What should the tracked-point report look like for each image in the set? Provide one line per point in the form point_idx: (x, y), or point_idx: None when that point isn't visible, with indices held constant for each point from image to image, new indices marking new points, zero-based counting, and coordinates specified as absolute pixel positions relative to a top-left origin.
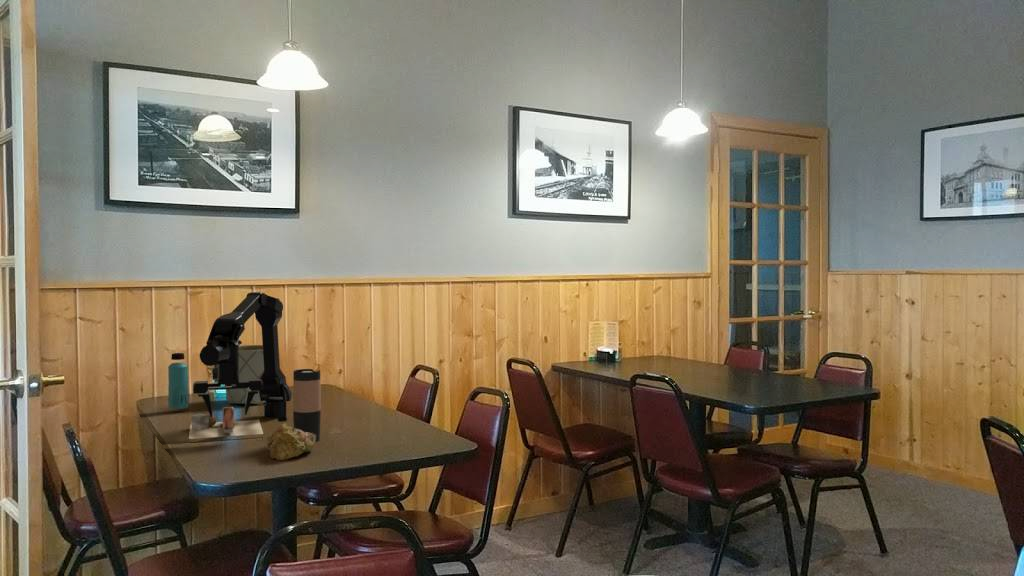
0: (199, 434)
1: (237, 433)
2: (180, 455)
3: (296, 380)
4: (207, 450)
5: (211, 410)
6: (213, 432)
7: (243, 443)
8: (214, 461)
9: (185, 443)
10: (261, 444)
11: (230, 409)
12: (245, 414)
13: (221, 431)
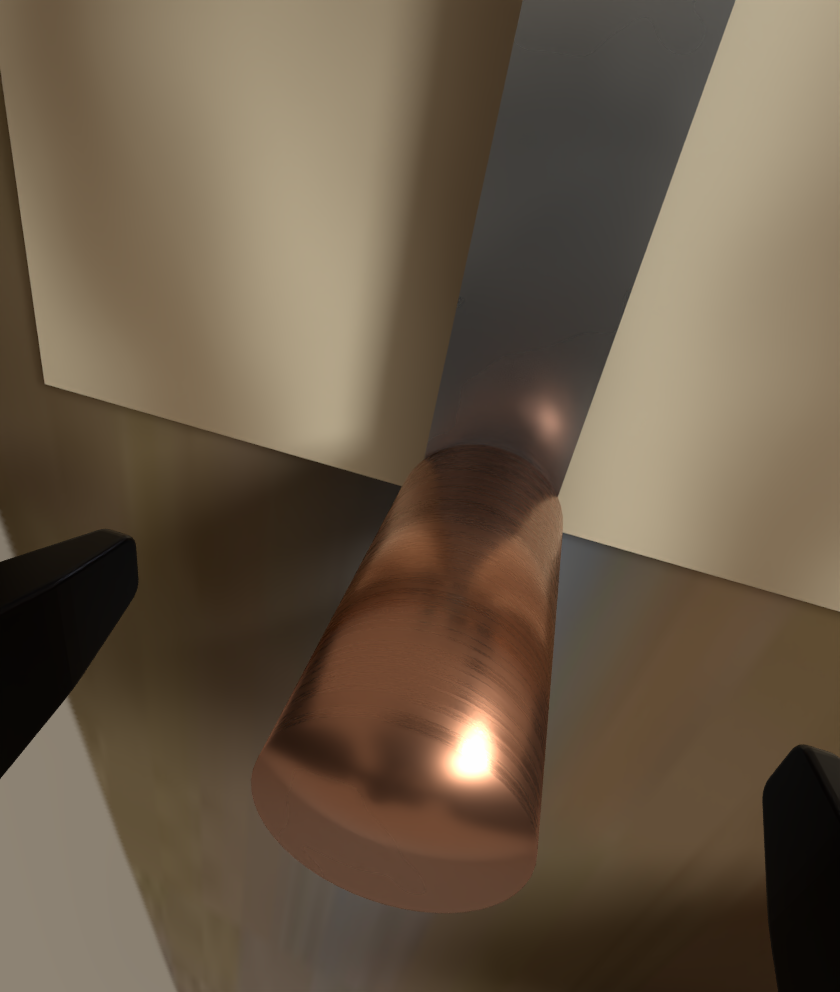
0: (141, 166)
1: (648, 414)
2: (79, 718)
3: None
4: (248, 710)
5: (31, 735)
6: (343, 114)
7: (580, 684)
8: (272, 918)
9: None
10: (707, 802)
11: (419, 884)
12: (773, 808)
13: (479, 96)
